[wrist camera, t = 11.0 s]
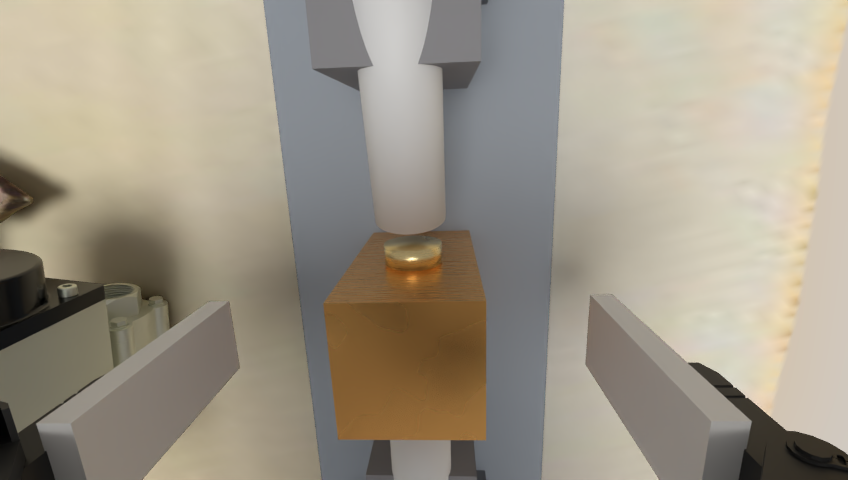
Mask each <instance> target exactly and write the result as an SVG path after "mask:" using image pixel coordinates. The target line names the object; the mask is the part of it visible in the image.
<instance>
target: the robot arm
mask: <svg viewBox="0 0 848 480" xmlns="http://www.w3.org/2000/svg"><path fill="white" fill-rule="evenodd" d="M586 366H587V367H588V369H589V371H590V372H591V374H592V375H593V377H594V378H595V380H596V382H597V383H598V385H599V386H600V388H601V389H602V391H603V392H604V394H605V396H606V397H607V399H608V400H609V402H610V403H611V405H612V406H613V408H614V410H615V411H616V413H617V414H618V416H619V417H620V419H621V421H622V422H623V424H624V425H625V427H626V428H627V430H628V431H629V433H630V435H631V436H632V438H633V439H634V441H635V442H636V444H637V446H638V447H639V449H640V450H641V452H642V453H643V455H644V456H645V458H646V460H647V461H648V463H649V464H650V466H651V467H652V469H653V470H654V472H655V474H656V475H657V477H658V478H659V480H848V455H847V454H846V453H845V452H843V451H842V450H840V449H838V448H837V447H835V446H833V445H832V444H830V443H828V442H826V441H823V440H821V439H818V438H816V437H814V436H810V435H807V434H803V433H799V432H795V431H786V430H785V429H784V428H783V427H782V426H780V425H779V424H778V423H777V422H776V421H774V420H773V419H772V418H771V417H770V416H769V415H767V414H766V413H765V412H764V411H763V410H761V409H760V408H759V407H758V406H757V405H756V404H754V403H753V402H752V401H751V400H750V399H748V398H745V395H744V394H743V393H741V392H740V391H739V390H738V389H737V388H733V385H732V384H731V383H730V382H728V381H727V380H726V379H725V378H724V377H722V376H721V375H720V374H719V373H717V372H715V371H714V370H712V369H710V368H708V367H706V366H704V365H702V364H700V363H687V362H686V361H685V360H684V359H683V358H682V357H681V356H679V355H678V354H677V353H676V352H675V351H674V350H673V349H672V348H671V347H670V346H668V345H667V344H666V343H665V342H664V341H663V340H662V339H661V338H660V337H659V336H657V335H656V334H655V333H654V332H653V331H652V330H651V329H650V328H649V327H648V326H647V325H645V324H644V323H643V322H642V321H641V320H640V319H639V318H638V317H637V316H636V315H634V314H633V313H632V312H631V311H630V310H629V309H628V308H627V307H626V306H625V305H623V304H622V303H621V302H620V301H619V300H618V299H617V298H616V297H615V296H614V295H612V294H603V295H590V306H589V320H588V335H587V349H586ZM239 368H240V366H239V359H238V353H237V347H236V341H235V335H234V328H233V322H232V316H231V310H230V304H229V301H209V302H207V303H206V304H204V305H203V306H202V307H200V308H199V309H197V310H196V311H195V312H193V313H192V314H190V315H189V316H187V317H186V318H185V319H183V320H182V321H180V322H179V323H178V324H176V325H175V326H173V327H172V328H170V329H169V330H168V331H166V332H165V333H163V334H162V335H161V336H159V337H158V338H156V339H155V340H154V341H152V342H151V343H149V344H148V345H146V346H145V347H144V348H142V349H141V350H139V351H138V352H137V353H135V354H134V355H132V356H131V357H130V358H128V359H127V360H125V361H124V362H122V363H121V364H120V365H118V366H117V367H115V368H114V369H113V370H111V371H110V372H108V373H107V374H105V375H103V376H101V377H99V378H97V379H95V380H93V381H92V382H90V383H89V384H87V385H86V386H85V387H83V388H82V389H80V390H79V391H78V393H77V394H73V395H72V396H70V397H69V398H67V399H66V400H65V401H64V403H63V404H59V405H57V406H56V407H55V408H53V409H52V410H50V411H49V412H47V413H46V414H45V415H43V416H42V417H40V418H39V419H37V420H36V421H35V422H33V423H32V424H30V425H29V426H27V427H26V428H24V429H23V430H22V431H20V432H19V433H18V432H17V429H16V426H15V423H14V420H13V417H12V414H11V411H10V408H9V404H8V403H6V402H2V401H0V480H142V479H143V478H144V477H145V476H146V475H147V474H148V472H149V471H150V470H151V469H152V468H153V467H154V466H155V464H156V463H157V462H158V461H159V460H160V459H161V457H162V456H163V455H164V454H165V453H166V452H167V451H168V449H169V448H170V447H171V446H172V445H173V444H174V443H175V441H176V440H177V439H178V438H179V437H180V436H181V435H182V433H183V432H184V431H185V430H186V429H187V428H188V427H189V425H190V424H191V423H192V422H193V421H194V420H195V418H196V417H197V416H198V415H199V414H200V413H201V412H202V410H203V409H204V408H205V407H206V406H207V405H208V404H209V402H210V401H211V400H212V399H213V398H214V397H215V396H216V394H217V393H218V392H219V391H220V390H221V389H222V387H223V386H224V385H225V384H226V383H227V382H228V381H229V379H230V378H231V377H232V376H233V375H234V374H235V373H236V371H237V370H238V369H239Z"/></svg>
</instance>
